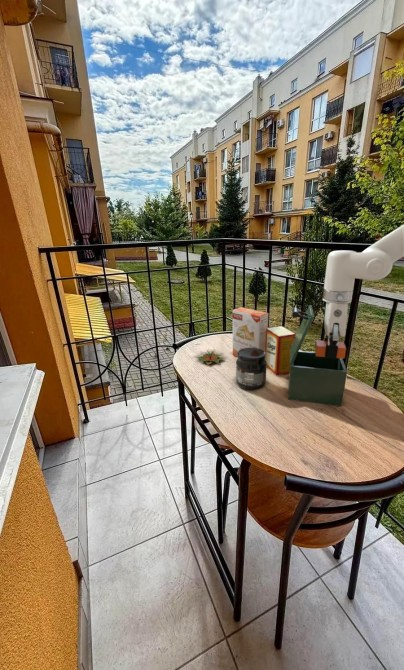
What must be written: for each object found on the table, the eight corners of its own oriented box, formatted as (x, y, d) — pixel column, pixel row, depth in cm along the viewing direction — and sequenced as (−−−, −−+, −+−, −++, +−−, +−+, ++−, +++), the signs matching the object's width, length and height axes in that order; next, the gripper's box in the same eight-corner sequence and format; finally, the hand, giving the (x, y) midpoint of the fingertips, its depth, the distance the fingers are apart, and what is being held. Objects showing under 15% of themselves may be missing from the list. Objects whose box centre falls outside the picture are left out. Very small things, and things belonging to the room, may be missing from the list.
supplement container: (256, 374, 106) (257, 344, 101) (271, 387, 96) (273, 355, 92) (230, 379, 102) (230, 349, 98) (244, 394, 93) (245, 361, 89)
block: (342, 352, 88) (343, 342, 86) (344, 358, 83) (346, 348, 82) (314, 349, 90) (315, 340, 89) (315, 356, 86) (316, 346, 84)
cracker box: (231, 355, 122) (231, 309, 114) (240, 351, 125) (241, 306, 118) (257, 365, 112) (259, 315, 104) (266, 361, 115) (269, 312, 108)
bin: (336, 385, 96) (340, 354, 92) (341, 406, 85) (347, 372, 80) (288, 380, 100) (291, 350, 96) (287, 399, 89) (290, 366, 85)
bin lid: (311, 305, 89) (295, 300, 90) (314, 316, 78) (295, 310, 79) (292, 349, 96) (277, 343, 97) (291, 365, 85) (274, 359, 86)
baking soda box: (264, 364, 112) (266, 327, 107) (279, 362, 114) (281, 325, 108) (276, 375, 104) (278, 335, 98) (292, 372, 105) (295, 333, 100)
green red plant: (191, 358, 120) (190, 349, 119) (213, 351, 126) (213, 342, 125) (206, 369, 111) (206, 358, 109) (230, 360, 117) (230, 350, 115)
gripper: (357, 303, 71) (347, 367, 78) (346, 289, 87) (338, 344, 93) (326, 302, 74) (318, 364, 80) (320, 289, 89) (314, 342, 95)
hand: (329, 352), depth 86 cm, fingers closed on block, 5 cm apart
